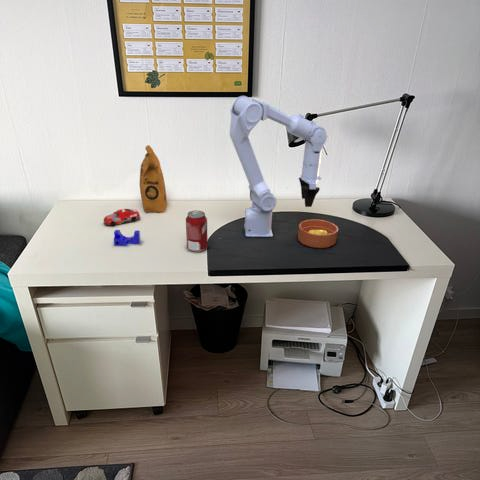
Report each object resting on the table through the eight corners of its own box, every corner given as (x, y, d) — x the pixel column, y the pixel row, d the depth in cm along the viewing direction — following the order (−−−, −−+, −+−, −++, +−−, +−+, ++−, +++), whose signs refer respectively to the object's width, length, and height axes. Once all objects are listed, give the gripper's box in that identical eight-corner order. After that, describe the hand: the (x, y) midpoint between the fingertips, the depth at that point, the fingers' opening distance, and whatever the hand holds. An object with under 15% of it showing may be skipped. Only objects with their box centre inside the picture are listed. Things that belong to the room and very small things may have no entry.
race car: (107, 228, 154) (105, 217, 152) (101, 222, 158) (100, 212, 156) (142, 220, 160) (140, 210, 158) (136, 215, 164) (135, 205, 162)
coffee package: (140, 213, 166) (133, 153, 153) (142, 201, 176) (136, 144, 163) (166, 213, 167) (162, 153, 154) (167, 201, 177) (163, 144, 164)
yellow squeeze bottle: (307, 241, 150) (309, 233, 148) (306, 235, 152) (307, 227, 150) (330, 242, 151) (332, 234, 148) (328, 235, 153) (330, 227, 150)
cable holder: (114, 245, 143) (112, 234, 141) (116, 241, 146) (115, 229, 144) (139, 246, 144) (137, 235, 141) (140, 241, 146) (139, 230, 144)
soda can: (199, 255, 140) (198, 219, 133) (182, 249, 143) (181, 214, 136) (211, 247, 145) (211, 212, 138) (195, 242, 148) (194, 208, 141)
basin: (300, 249, 146) (302, 235, 143) (294, 232, 157) (296, 219, 154) (339, 249, 147) (341, 235, 144) (331, 232, 157) (333, 219, 155)
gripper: (327, 170, 141) (321, 210, 149) (319, 157, 153) (314, 195, 161) (305, 169, 141) (300, 210, 149) (299, 157, 153) (295, 194, 161)
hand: (306, 202), depth 155 cm, fingers open, 7 cm apart
